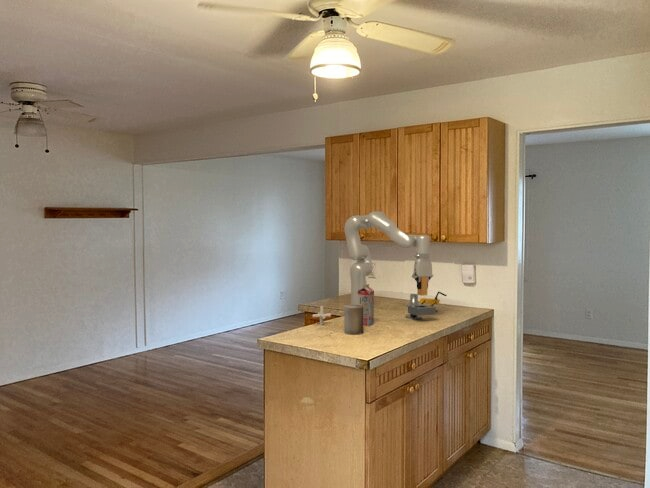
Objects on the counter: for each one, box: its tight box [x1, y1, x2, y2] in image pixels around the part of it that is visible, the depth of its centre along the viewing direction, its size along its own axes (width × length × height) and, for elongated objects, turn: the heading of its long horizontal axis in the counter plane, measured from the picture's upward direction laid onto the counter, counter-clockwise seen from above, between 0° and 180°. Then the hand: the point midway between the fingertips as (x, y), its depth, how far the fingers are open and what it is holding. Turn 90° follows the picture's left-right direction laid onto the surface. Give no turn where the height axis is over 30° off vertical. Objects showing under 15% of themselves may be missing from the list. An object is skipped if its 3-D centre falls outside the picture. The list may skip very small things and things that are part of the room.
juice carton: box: [358, 283, 375, 327], centre depth 274 cm, size 7×7×22 cm
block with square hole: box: [404, 293, 437, 320], centre depth 292 cm, size 12×18×14 cm, turn 24°
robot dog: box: [418, 291, 447, 313], centre depth 315 cm, size 6×18×13 cm, turn 61°
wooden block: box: [416, 277, 429, 296], centre depth 288 cm, size 4×4×12 cm
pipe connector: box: [311, 305, 332, 326], centre depth 274 cm, size 10×10×10 cm
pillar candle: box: [343, 304, 364, 335], centre depth 255 cm, size 10×10×15 cm
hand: (422, 288), depth 288 cm, fingers closed on wooden block, 4 cm apart
